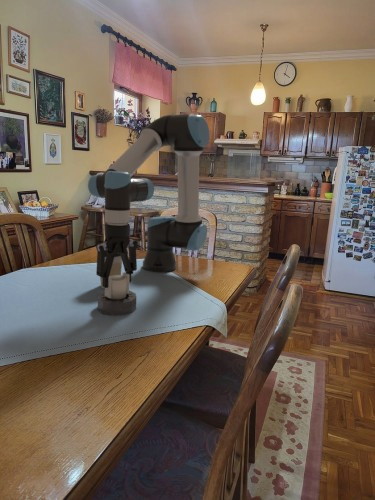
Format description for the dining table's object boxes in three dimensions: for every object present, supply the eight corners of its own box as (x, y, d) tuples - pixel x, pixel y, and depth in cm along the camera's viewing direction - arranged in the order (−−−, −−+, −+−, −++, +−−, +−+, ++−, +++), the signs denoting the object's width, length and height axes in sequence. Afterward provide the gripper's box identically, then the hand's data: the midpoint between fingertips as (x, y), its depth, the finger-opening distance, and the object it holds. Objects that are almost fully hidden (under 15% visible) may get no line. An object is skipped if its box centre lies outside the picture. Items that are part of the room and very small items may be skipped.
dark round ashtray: (122, 297, 123) (122, 287, 122) (143, 309, 115) (143, 297, 114) (91, 306, 115) (90, 294, 114) (110, 318, 107) (110, 306, 106)
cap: (120, 291, 118) (120, 273, 117) (130, 296, 114) (130, 278, 112) (103, 295, 114) (103, 276, 113) (114, 300, 110) (114, 281, 108)
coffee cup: (116, 291, 129) (117, 251, 126) (93, 288, 131) (93, 248, 127) (126, 283, 138) (126, 245, 134) (104, 281, 139) (103, 243, 136)
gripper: (135, 219, 117) (134, 285, 123) (82, 223, 105) (84, 297, 110) (149, 222, 112) (147, 291, 118) (95, 227, 99) (96, 305, 105)
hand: (117, 294), depth 114 cm, fingers closed on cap, 6 cm apart
